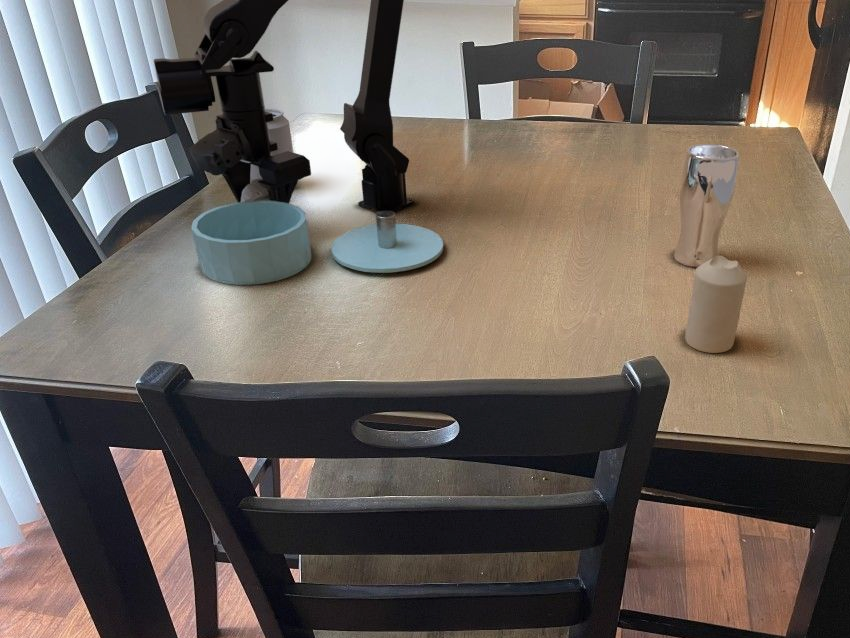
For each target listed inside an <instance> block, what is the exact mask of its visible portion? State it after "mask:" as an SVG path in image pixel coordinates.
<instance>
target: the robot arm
mask: <svg viewBox="0 0 850 638" xmlns="http://www.w3.org/2000/svg"><path fill="white" fill-rule="evenodd" d="M404 1H405V0H370V6H369V13H368V20H367V27H366V28H367V29H366V37H365V43H364V52H363V61H362V67H361V69H362V70H361V76H360V82H359V83H360V84H359V91H358V95H357V97H356V99H355V100H354V102H353V104H349V103H347V102H344V103H343V121H342V123H341V126H340V128H339V130H340V131H341V132H342V133H343V139H344V141H345V144H346V145H347V146H348V148H349V149H350V150H351V151H352V152H353V153H354V154H355V155H356V156H357V157H358V158H359V159H360V161H362V162H363V163H364V164H365V166H364V168H361V174H362V175H361V176H362V179H361V191H362V200H360V201H358V203H357V205H358V206H359V207H362V208H365V209H368V210H371V211H374V212H376V213H377V212H379V211H392V212H394V213H395V212H397V211H399V210H401V209H402V210H403V209H404V208H407V207H409V206H411V205H413V204H415V200H414V199H412V198H409V197H407V184H406V183H407V182H406V181H407V180H406V173H407V171H408V167H409V163H410V159H409V157H407V156H406V155H405V154H404V153H403V152H402V151H400V150H399V149H398V148H397V147H396V146H395V145H394V123H393V117H392V111H391V106H390V105H391V104H390V98H391V92H392V86H393V79H394V78H393V77H394V72H395V71H394V70H395V64H396V58H397V51H398V44H399V35H400V30H401V22H402V15H403V9H404ZM287 2H289V0H221V1H219V2H218V3H216V4H215V5H213V6H212V7H210V8H209V9H208V10H207V12H206V14H205V15H204V18H203V31H204V35H203V37H202V39H201V41H200V43H199V45H198V46H197V48H196V50H195V52H194V55H193V56H194V57H187V58H186V57H185V58H172V59H171V58H165V57H164V58H163V57H162V58H161V57H160V58H154V59H153V65H154V69H155V70H154V71H155V76H156V79H157V82H155V83H156V88H157V92H158V95H159V100H160V103H161V107H162V111H163V113H164V116H169V115H179V114H189V113H200V112H208V111H210V109H209V107H213V103H216V94H215V88H214V84H213V79H212V77H214V78H215V82H216V87H217V92H218V97H219V104H220V108H221V114H218V115H216V118H215V121H214V122H215V127H216V128H215V129H214V130H213V131H212V132H209V133H207V134H206V135H205V136H203V137H201V138H200V139H199V140H198V141H196V142H195V143H193V144H192V145H191V146H190V147H189V148H188V153H189V154H190V156H191V157H192V160H193V161H194V163H195V165H196V166H197V167H198V169H199V171H201V172H206V173H209V174H210V175H212V176H220V175H221V176H222V178H223V179H224V180H225V182H226V183H227V185H228V187H229V189H230V191H231V193H232V194H233V196H234V198H235V200H236V203H238V202H241V196H242V191H243V189H244V188H245V187H246V186H247V185H248V184H251V177H250V173H251V164H252V165H255V166H258V168H259V174H260V176H261V177H262V179H263V180H260V181H258V183H260V184H261V185H262V186H263V187H265V188H266V189H267V190H268V194H269V198H270V201H277V202H285V203H289V204H290V203H291V199H292V196H293V194H294V192H295V189H296V187H297V185H298V183H299V181H300V180H302V179H304V178H307V177H309V176H312V168H311V161H310V159H308V157H306V156H305V155H304V154H299V153H296V152H294V151H293V152H289V151H286V152H283V153H279V154H276V155H273V156H271V152H272V151H276V150H278V147H277V143H276V142H272V141H270V136H269V130H268V124H267V122H270V121H273V115H272V113H269V112H265V108H266V106H265V101H264V100H265V99H264V94H263V89H262V82H261V81H262V80H261V75H260V73H272V72H274V71H275V67H274V66H273V64H271V63H270V62H269V61H268V60H267V59H265V58H264V57H263V55H262V54H261V53H260V52H259V51H258V50H254V49H255V47H256V46H257V44H259V41H260V40H261V39H262V38H263V36H264V35H265V33H266V31H267V29H268V28H269V25H270V24H271V22H272V20H273V18H274V17H275V16H276V14H277V13H278V11H279V10H280V9H281V8H282V7H283V6H284V5H285V4H286V3H287ZM253 50H254V51H253ZM252 51H253V53H252ZM251 53H252V54H251ZM249 54H251V56H250V57H246V56H247V55H249Z"/></svg>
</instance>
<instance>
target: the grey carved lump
mask: <svg viewBox="0 0 850 638" xmlns="http://www.w3.org/2000/svg"><path fill="white" fill-rule="evenodd" d="M260 180H263V179H262V178H259V179H254V180H252V181H251V180H250V184H248V185H247V186H246V187H245V188H244V189H243V191H242V196H241V202H246V201H270V198H269V194H268V190H267V189H266V188H265V187H263V186H262V185H261V184H260V183H258V181H260Z"/></svg>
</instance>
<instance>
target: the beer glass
mask: <svg viewBox="0 0 850 638" xmlns="http://www.w3.org/2000/svg"><path fill="white" fill-rule="evenodd" d="M739 156H740V153H739V150H737V149H735V148H733V147H730V146H726V145H722V144H717V143H700V144H693V145H690V146H689V147H687V150H686V155H685V159H684V163H683V169H682V172H681V173H682V174H681V179H680V187H679V189H680V190H679V207H680V210H679V211H680V234H679V238H678V241H677V245H676V248H675V250H674V254H673V257H674V259H675V261H677V262H678V263H679V264H681V265H683V266H686V267H690V268H696V269H697V268H698V267H699V266H700V265H702V264H703V263H705V262H707V261H709V260H711V259H712V258H714V257H715V256H720V254H719V250H720V249H719V245H720V244H719V243H720V236H721V233H722V232H721V231H722V228H723V226H724V223H725V220H726V218H727V215H728V212H729V210H730V207H731V203H732V201H733V197H734V193H735V189H736V185H737V177H738V166H739Z"/></svg>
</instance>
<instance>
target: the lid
mask: <svg viewBox="0 0 850 638" xmlns="http://www.w3.org/2000/svg"><path fill="white" fill-rule="evenodd" d="M330 249H331V256H332V258H333V259H334V260H335V262H336V263H338V264H340V265H341V266H343V267H346V268H349V269H352V270H355V271H359V272H364V273H375V274H376V273H379V274H386V273H387V274H388V273H399V272H400V273H401V272H405V271H410V270H414V269H418V268H422V267H424V266H426V265H428V264H431V263H433V262H434V261H435V260H438V259H439V257H440V256H441V255H442V253H443V252H444V241H443V239H442V237H441V236H440V235H439V234H438V233H436V232H435V231H433V230H431V229H428V228H425V227H423V226H420V225H419V226H418V225H414V224H407V223H396V213H395V211H394V212H392V211H379V212H377V211H376V213H375V224H372V225H366V226H362V227H357V228H354V229H352V230H349V231H347V232H344V233H343V234H341V235H340V236H338V237H337V238H336V239H335V240H334V241H333V242H332V244H331V248H330Z"/></svg>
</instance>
